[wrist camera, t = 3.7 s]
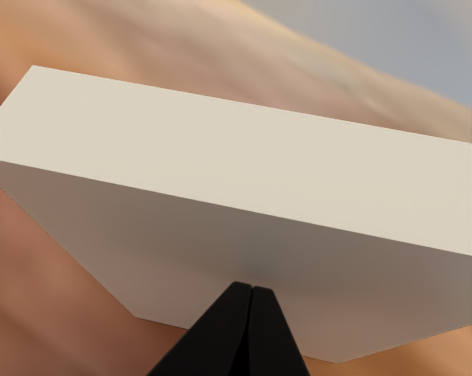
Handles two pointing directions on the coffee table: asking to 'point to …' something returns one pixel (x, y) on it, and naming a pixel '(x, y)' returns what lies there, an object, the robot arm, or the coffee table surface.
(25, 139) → the tile
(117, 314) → the coffee table surface
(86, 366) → the coffee table surface
